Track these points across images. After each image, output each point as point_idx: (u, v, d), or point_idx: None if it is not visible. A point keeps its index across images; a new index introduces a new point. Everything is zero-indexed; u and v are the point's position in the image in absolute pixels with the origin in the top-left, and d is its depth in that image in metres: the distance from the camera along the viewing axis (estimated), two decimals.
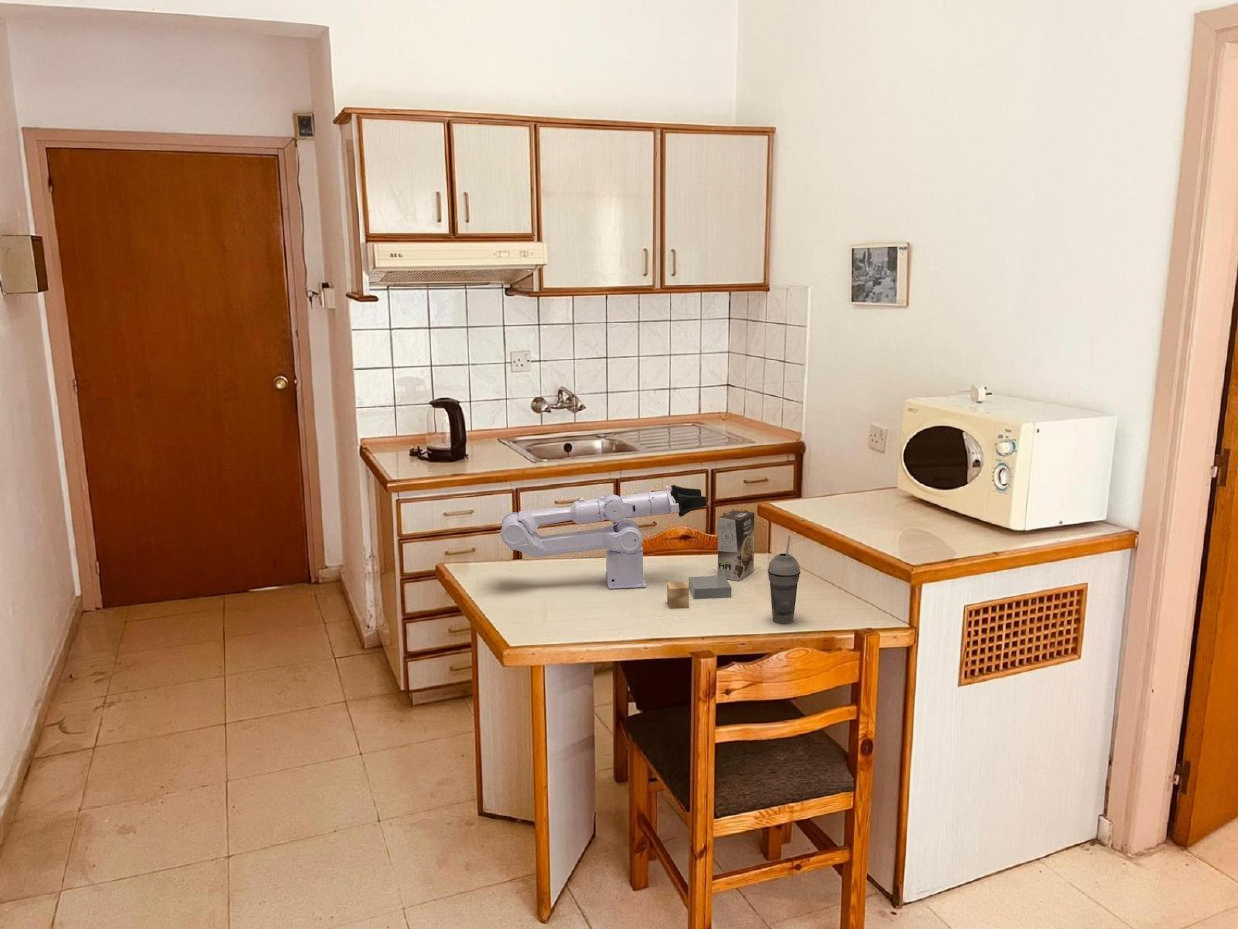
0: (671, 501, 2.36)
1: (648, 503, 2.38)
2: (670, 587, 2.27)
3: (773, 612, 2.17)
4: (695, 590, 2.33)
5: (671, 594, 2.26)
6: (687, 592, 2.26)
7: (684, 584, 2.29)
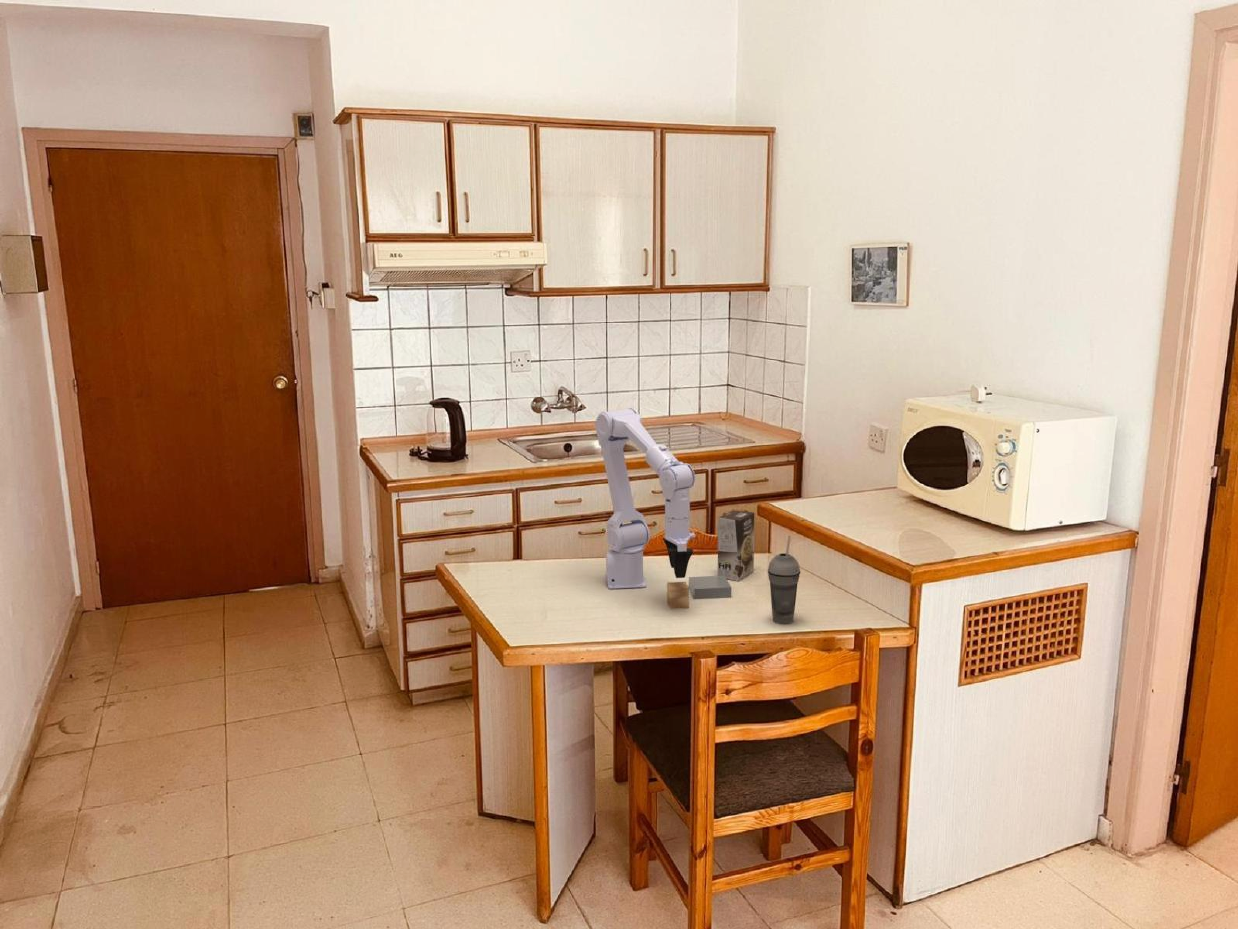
0: (686, 542, 2.21)
1: (670, 516, 2.22)
2: (670, 587, 2.27)
3: (773, 612, 2.17)
4: (695, 590, 2.33)
5: (671, 594, 2.26)
6: (687, 592, 2.26)
7: (684, 584, 2.29)
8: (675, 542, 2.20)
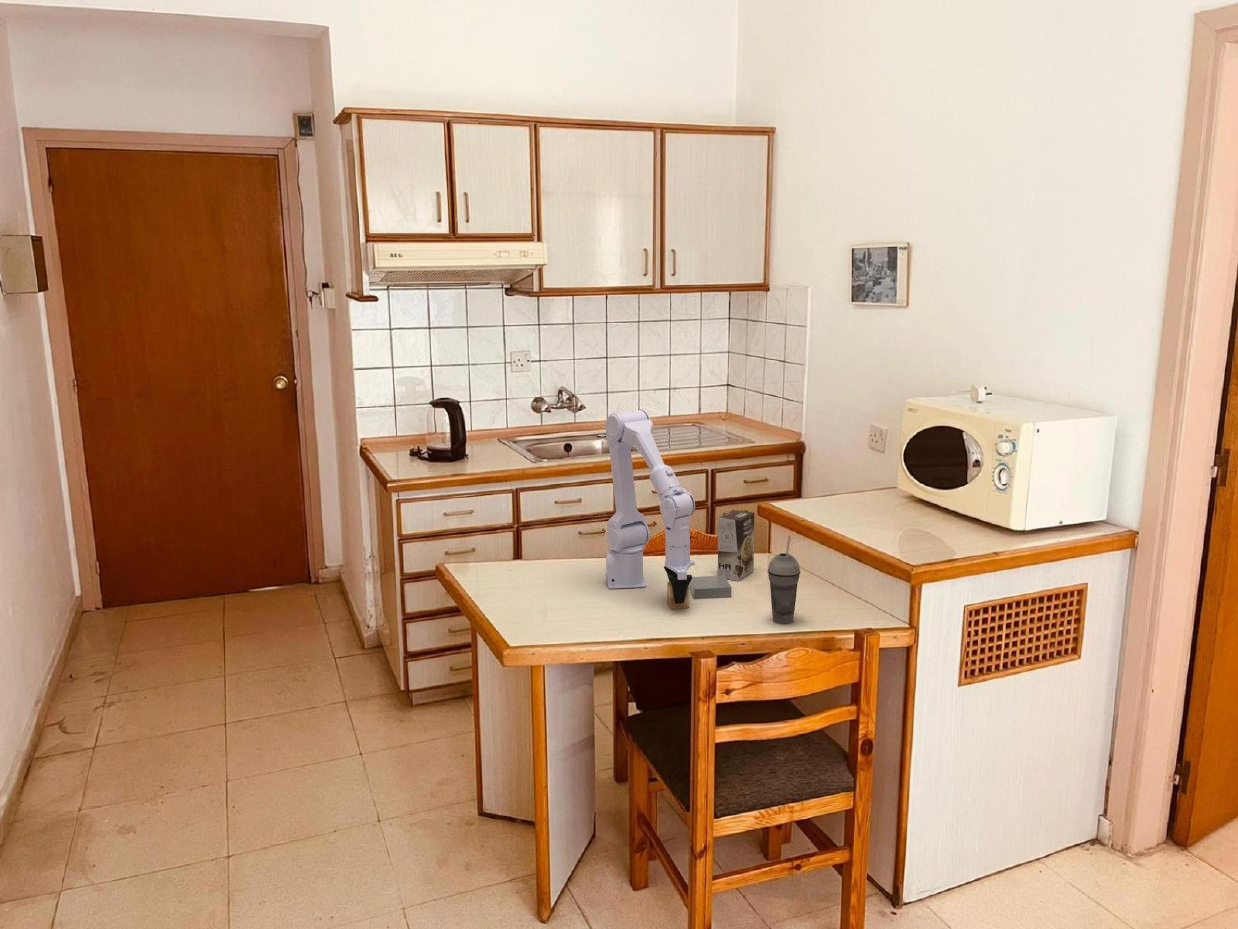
0: (686, 570, 2.22)
1: (670, 544, 2.24)
2: (670, 587, 2.27)
3: (773, 612, 2.17)
4: (695, 590, 2.33)
5: (671, 594, 2.26)
6: (687, 592, 2.26)
7: None
8: (675, 570, 2.22)
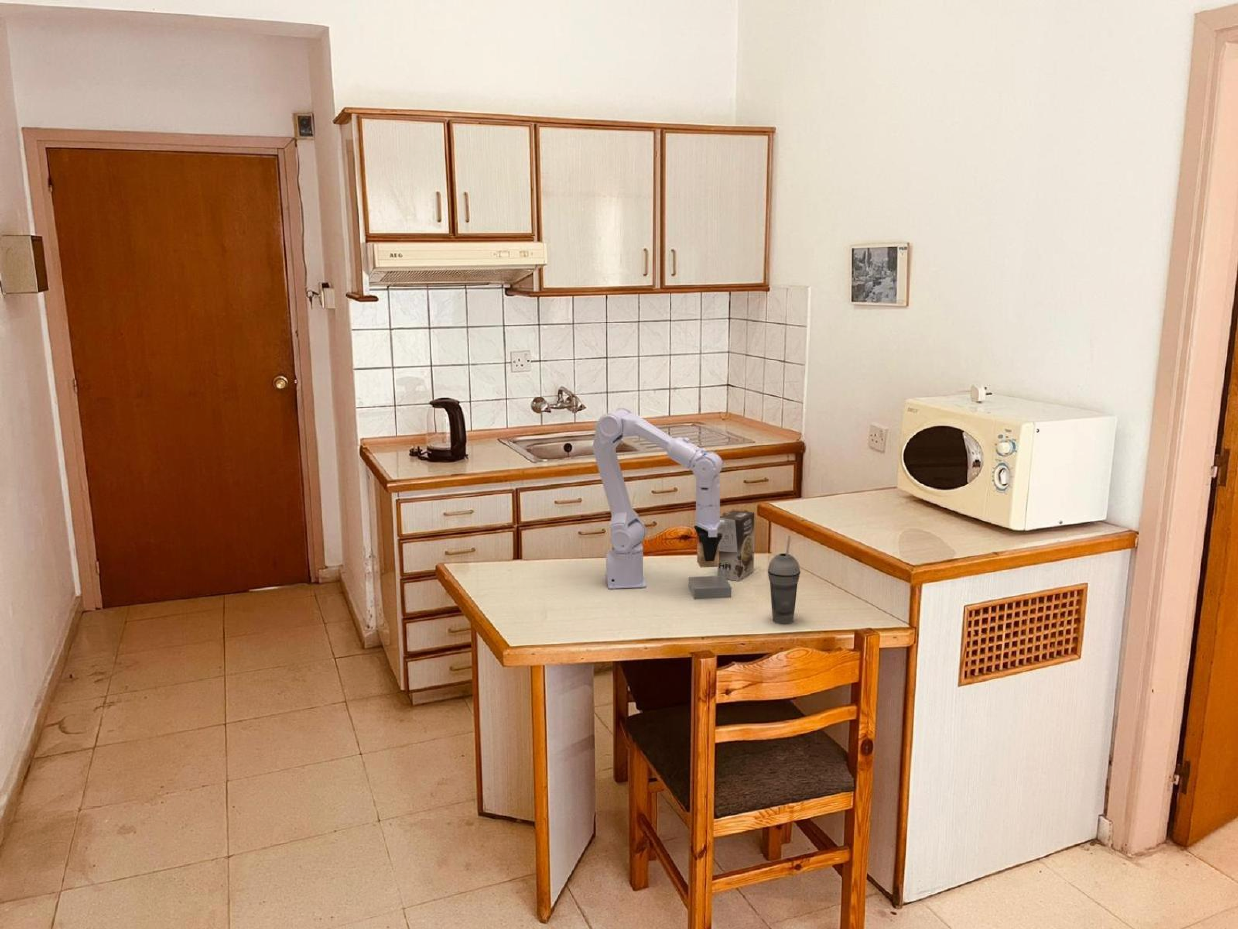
0: (717, 528, 2.28)
1: (707, 504, 2.30)
2: (701, 546, 2.33)
3: (773, 612, 2.17)
4: (695, 590, 2.33)
5: (702, 553, 2.33)
6: (717, 551, 2.33)
7: None
8: (706, 528, 2.28)
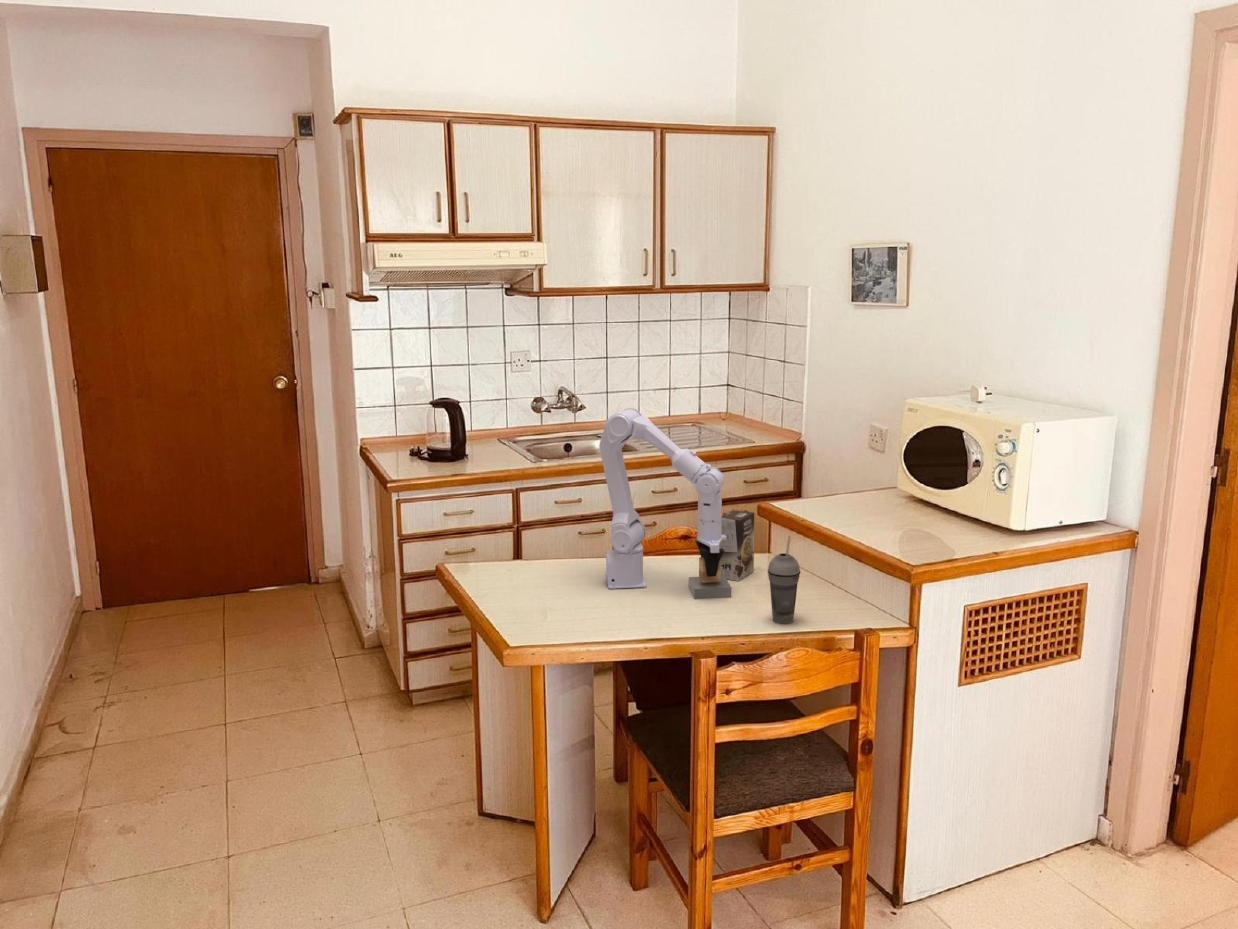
0: (719, 544, 2.30)
1: (710, 519, 2.31)
2: (703, 561, 2.35)
3: (773, 612, 2.17)
4: (695, 590, 2.33)
5: (704, 568, 2.34)
6: (719, 566, 2.34)
7: None
8: (708, 544, 2.29)
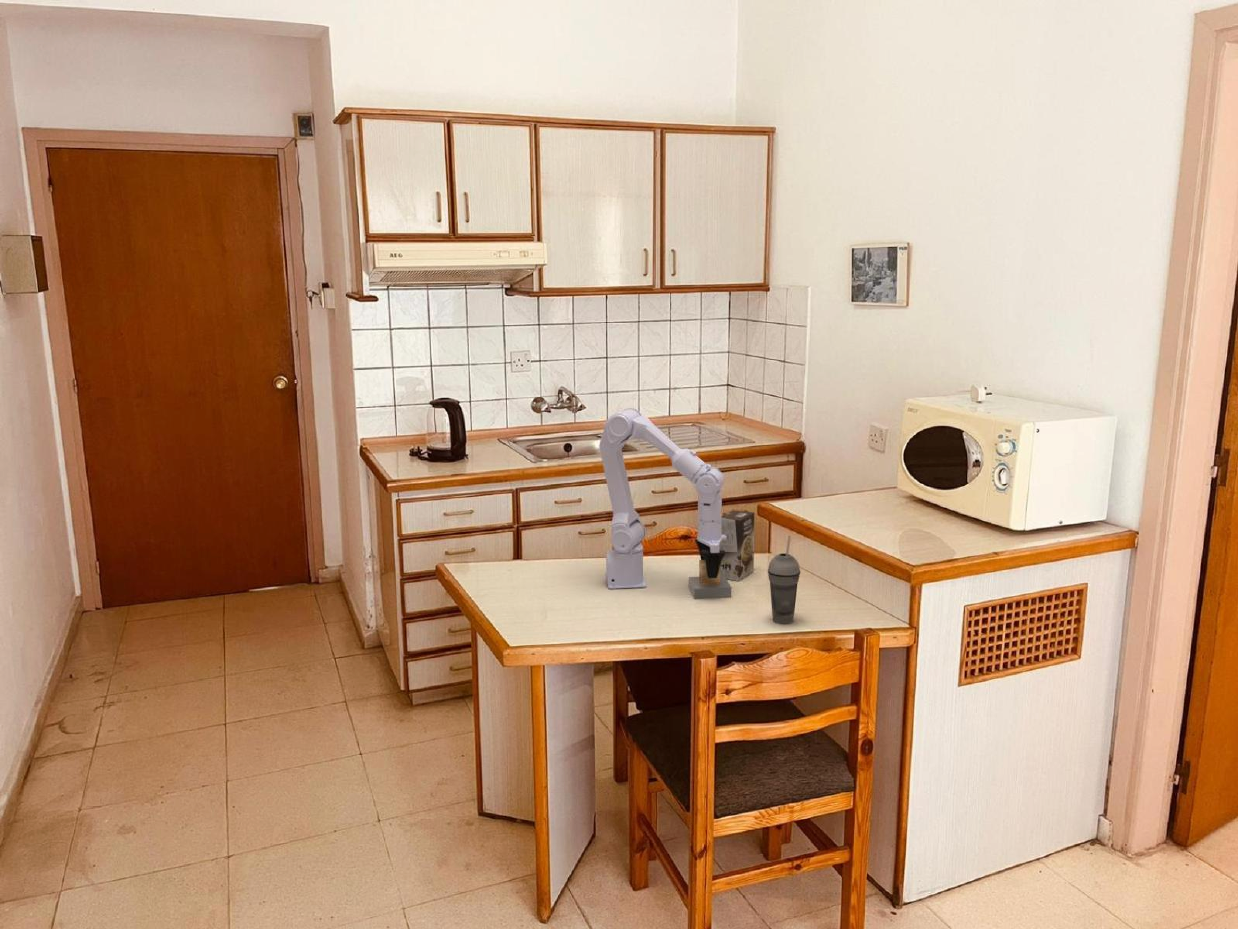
0: (719, 544, 2.30)
1: (710, 519, 2.31)
2: (702, 564, 2.35)
3: (773, 612, 2.17)
4: (695, 590, 2.33)
5: (703, 571, 2.34)
6: None
7: None
8: (708, 544, 2.29)
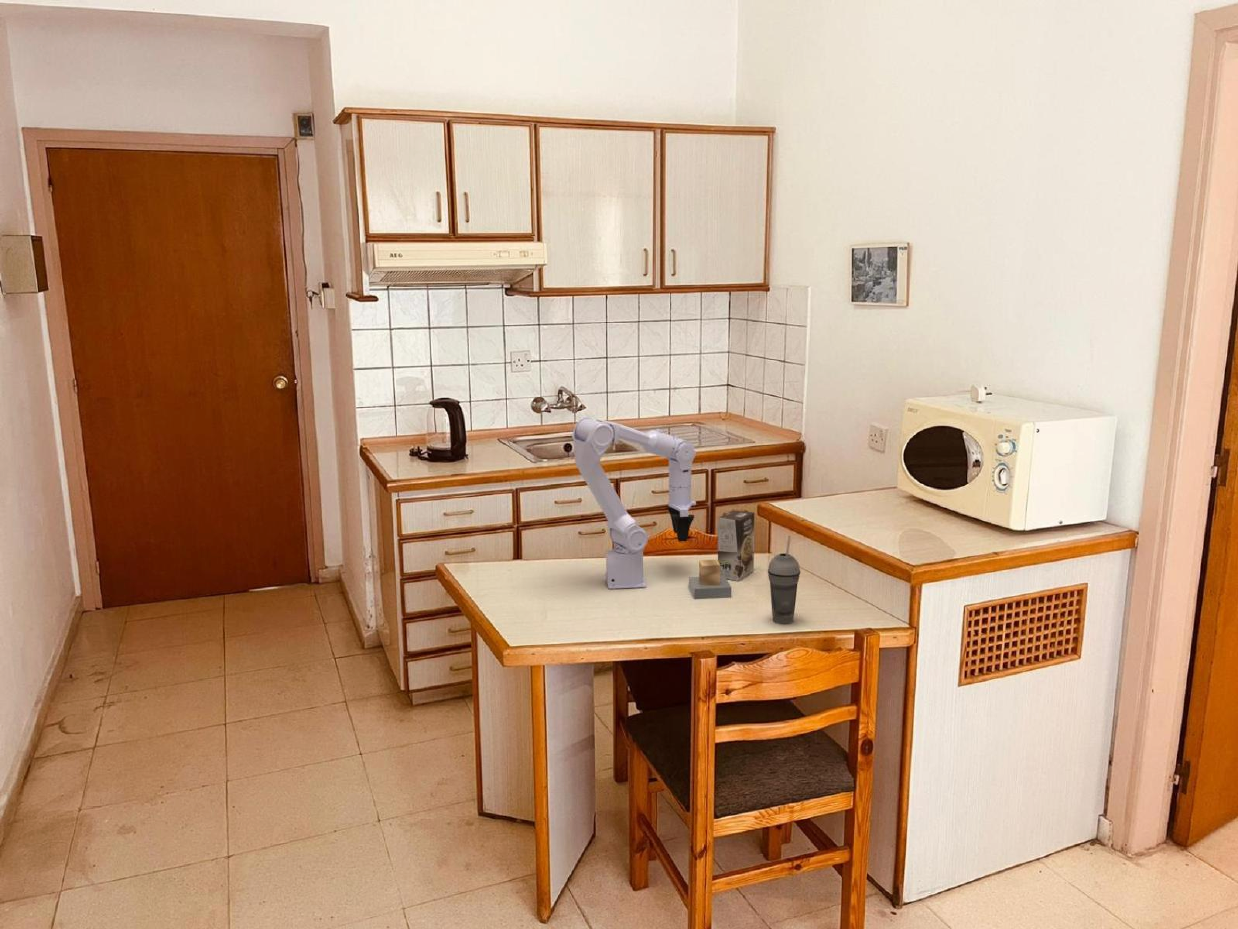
0: (688, 508, 2.43)
1: (688, 485, 2.45)
2: (702, 564, 2.35)
3: (773, 612, 2.17)
4: (695, 590, 2.33)
5: (703, 571, 2.34)
6: (718, 569, 2.34)
7: (715, 562, 2.37)
8: (678, 508, 2.43)
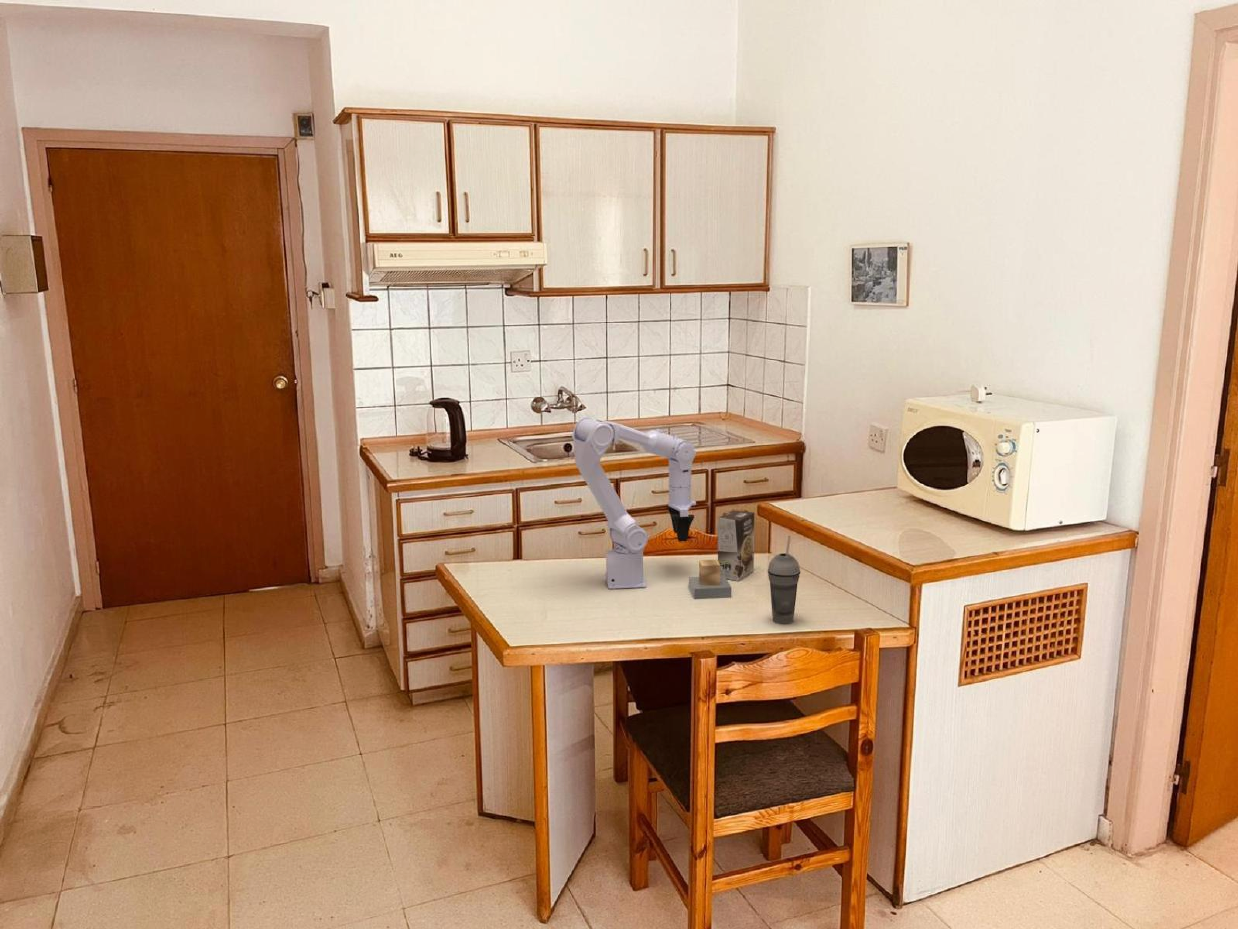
0: (688, 508, 2.43)
1: (688, 485, 2.45)
2: (702, 564, 2.35)
3: (773, 612, 2.17)
4: (695, 590, 2.33)
5: (703, 571, 2.34)
6: (718, 569, 2.34)
7: (715, 562, 2.37)
8: (678, 508, 2.43)
